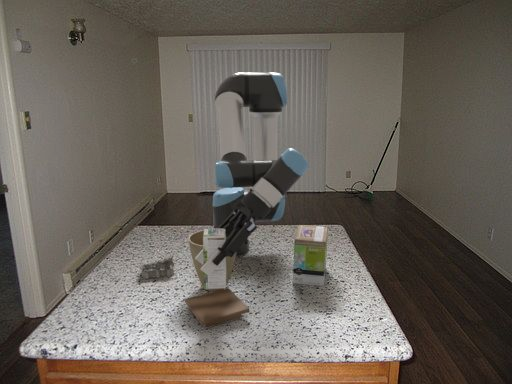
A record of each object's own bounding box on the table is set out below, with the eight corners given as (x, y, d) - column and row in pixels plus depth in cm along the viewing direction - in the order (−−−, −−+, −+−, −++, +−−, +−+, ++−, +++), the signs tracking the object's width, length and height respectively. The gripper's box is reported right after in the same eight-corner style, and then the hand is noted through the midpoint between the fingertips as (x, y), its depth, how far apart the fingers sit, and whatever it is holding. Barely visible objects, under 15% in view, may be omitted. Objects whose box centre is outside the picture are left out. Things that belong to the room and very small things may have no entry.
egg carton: (174, 268, 135) (174, 256, 134) (174, 277, 128) (173, 265, 127) (142, 270, 133) (141, 258, 132) (140, 280, 126) (139, 268, 125)
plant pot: (203, 302, 111) (201, 249, 108) (183, 282, 124) (180, 234, 120) (248, 289, 119) (248, 239, 115) (225, 271, 131) (224, 226, 128)
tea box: (324, 287, 120) (326, 241, 117) (292, 284, 122) (292, 239, 119) (326, 266, 135) (328, 225, 131) (297, 264, 137) (297, 223, 133)
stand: (185, 308, 108) (184, 298, 108) (228, 297, 114) (228, 287, 114) (202, 332, 97) (202, 321, 97) (249, 318, 103) (249, 308, 103)
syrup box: (205, 280, 106) (202, 228, 103) (227, 279, 106) (225, 227, 103) (204, 289, 100) (201, 235, 97) (227, 288, 101) (225, 234, 98)
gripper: (285, 218, 95) (221, 291, 93) (258, 199, 113) (204, 260, 111) (264, 199, 92) (198, 274, 91) (240, 183, 110) (184, 245, 109)
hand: (201, 266), depth 101 cm, fingers closed on syrup box, 7 cm apart
